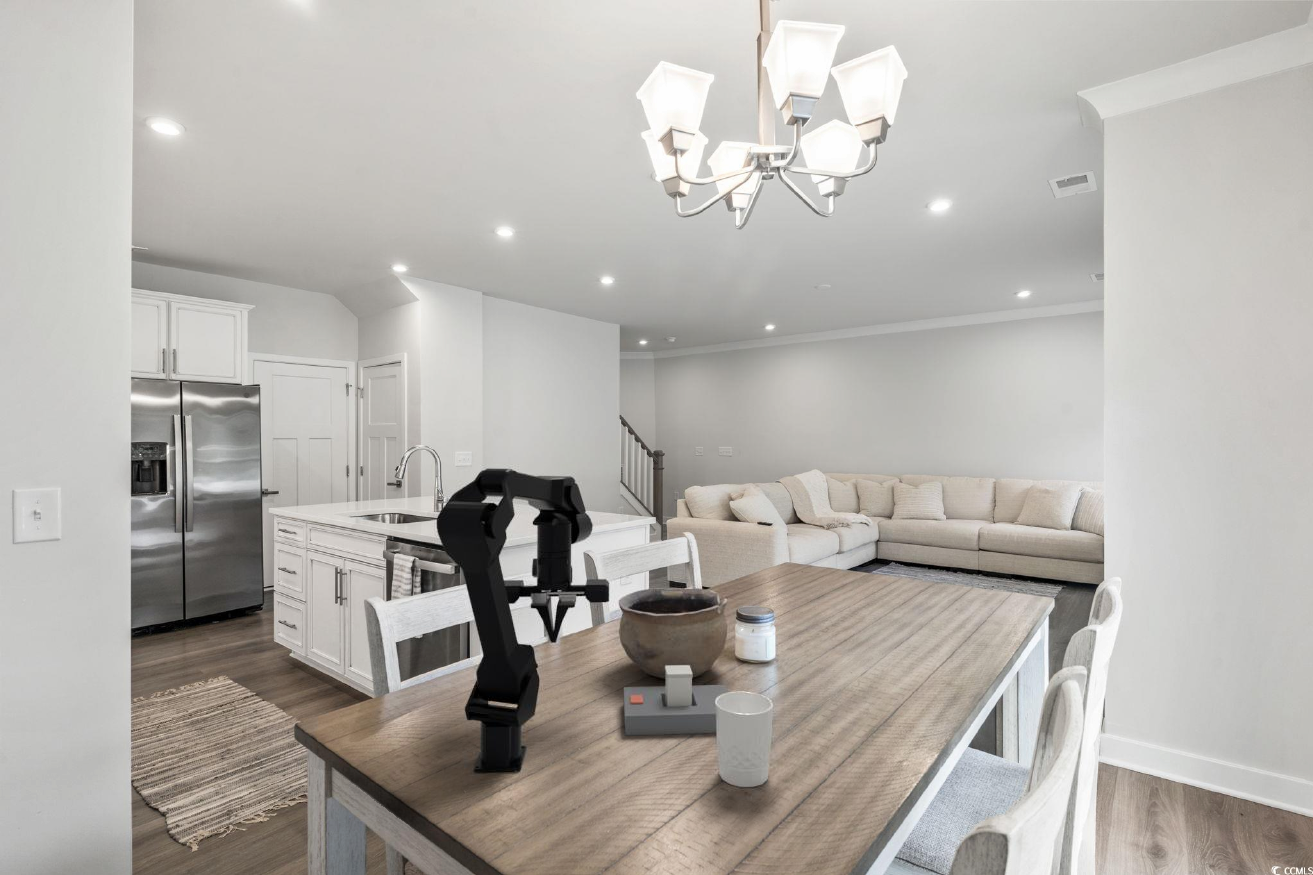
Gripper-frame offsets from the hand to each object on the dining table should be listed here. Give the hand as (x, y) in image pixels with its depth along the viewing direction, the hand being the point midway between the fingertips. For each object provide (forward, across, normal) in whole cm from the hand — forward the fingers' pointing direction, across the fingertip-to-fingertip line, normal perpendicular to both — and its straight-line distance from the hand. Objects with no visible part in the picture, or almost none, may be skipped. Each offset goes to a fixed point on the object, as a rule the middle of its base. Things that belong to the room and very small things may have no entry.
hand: (553, 642), depth 108 cm
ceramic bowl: (+12, -22, -18) cm, 31 cm away
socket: (+12, -21, +3) cm, 24 cm away
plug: (+12, -21, +3) cm, 24 cm away
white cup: (+12, -28, +22) cm, 38 cm away
